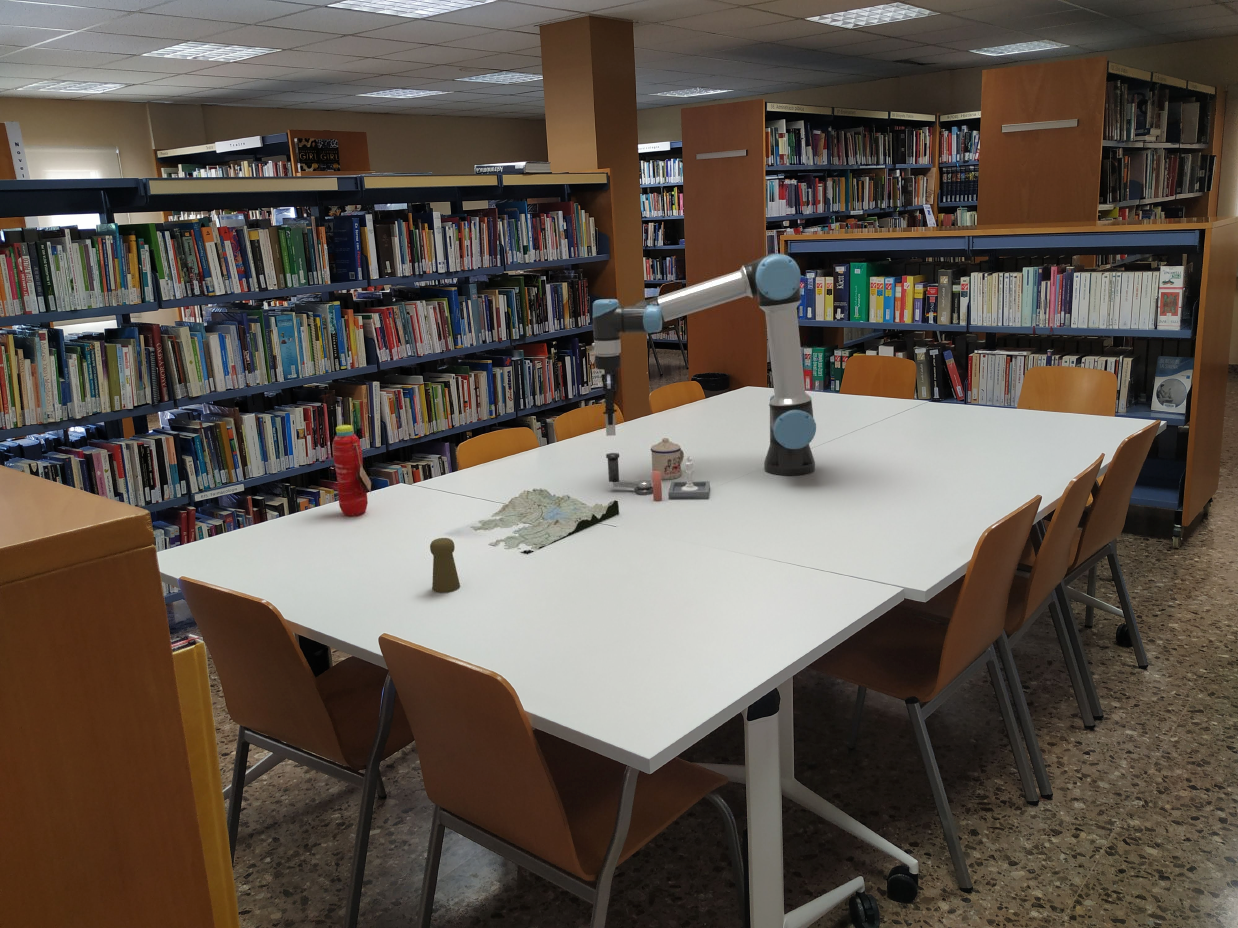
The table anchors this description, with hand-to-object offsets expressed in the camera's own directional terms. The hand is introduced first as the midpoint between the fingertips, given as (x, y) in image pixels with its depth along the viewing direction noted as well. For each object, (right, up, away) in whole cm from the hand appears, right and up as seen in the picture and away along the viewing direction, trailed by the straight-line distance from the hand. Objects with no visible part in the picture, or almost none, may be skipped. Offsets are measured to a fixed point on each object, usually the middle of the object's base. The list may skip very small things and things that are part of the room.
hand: (610, 434), depth 271 cm
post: (+13, -18, -13) cm, 26 cm away
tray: (+22, -17, -9) cm, 29 cm away
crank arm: (+5, -15, -4) cm, 16 cm away
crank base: (+10, -16, -5) cm, 20 cm away
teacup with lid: (+18, -12, +11) cm, 24 cm away
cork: (-35, -35, -69) cm, 85 cm away
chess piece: (+22, -16, -9) cm, 29 cm away
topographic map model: (-20, -25, -29) cm, 43 cm away
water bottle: (-70, -23, -13) cm, 75 cm away
